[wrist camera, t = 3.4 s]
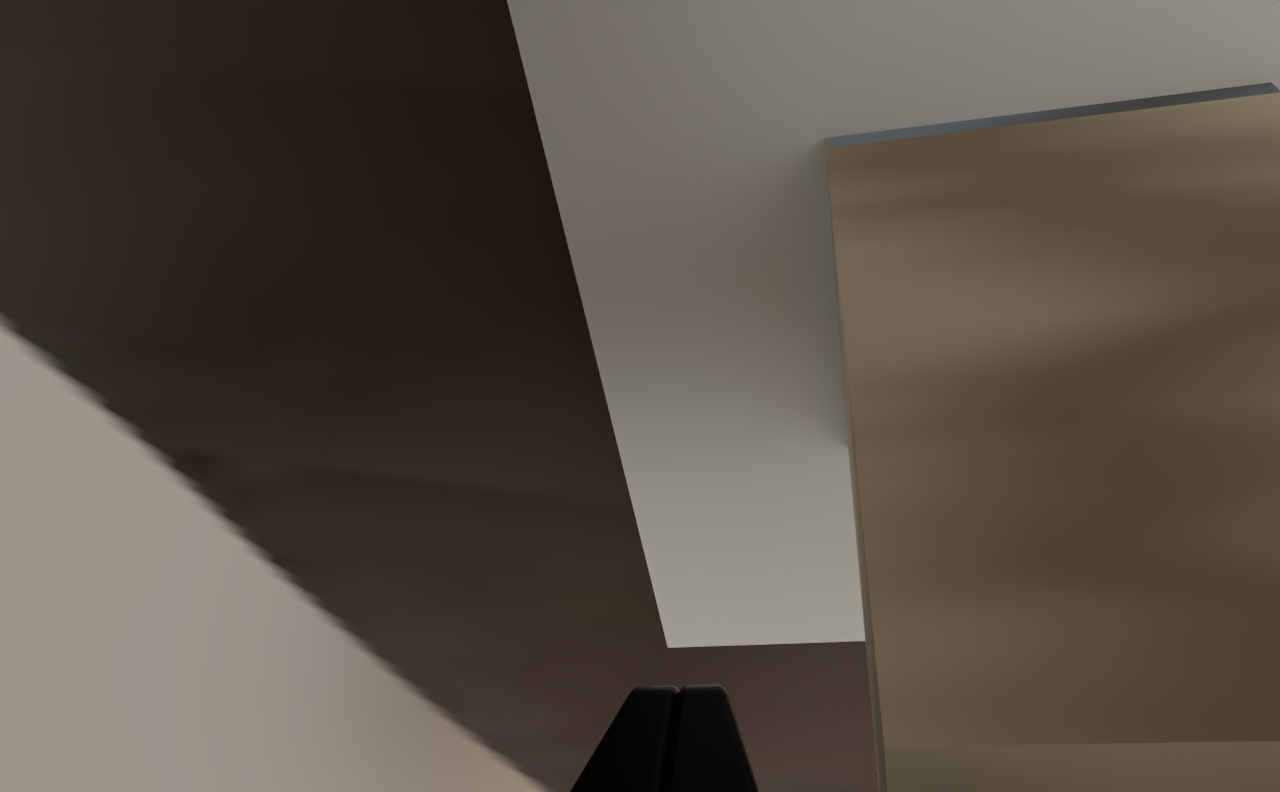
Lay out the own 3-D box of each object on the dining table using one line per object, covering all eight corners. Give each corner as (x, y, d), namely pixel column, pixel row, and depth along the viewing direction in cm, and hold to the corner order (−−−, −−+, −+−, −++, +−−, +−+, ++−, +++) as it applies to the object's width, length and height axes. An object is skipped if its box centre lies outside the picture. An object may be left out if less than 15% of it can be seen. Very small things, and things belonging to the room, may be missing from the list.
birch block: (1271, 82, 12) (1942, 730, 5) (1205, 423, 15) (1572, 1119, 8) (824, 138, 13) (885, 746, 6) (848, 447, 16) (906, 1088, 9)
